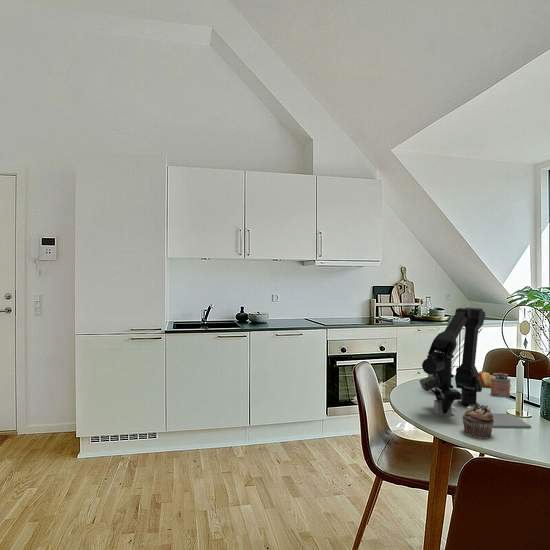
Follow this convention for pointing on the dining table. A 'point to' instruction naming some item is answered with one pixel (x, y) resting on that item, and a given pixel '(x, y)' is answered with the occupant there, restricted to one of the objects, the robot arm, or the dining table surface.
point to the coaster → (508, 421)
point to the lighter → (500, 385)
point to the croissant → (486, 379)
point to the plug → (439, 410)
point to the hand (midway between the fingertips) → (442, 411)
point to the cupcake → (478, 420)
